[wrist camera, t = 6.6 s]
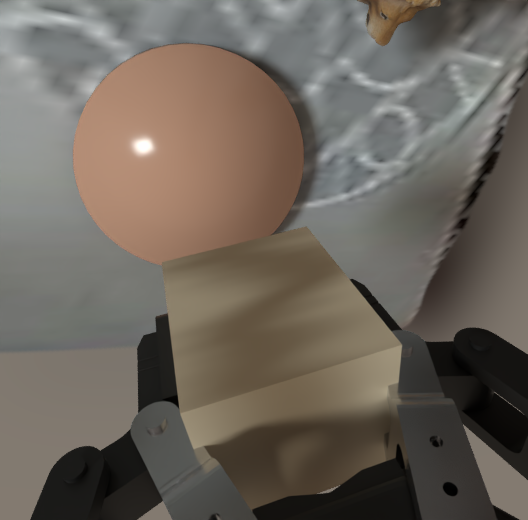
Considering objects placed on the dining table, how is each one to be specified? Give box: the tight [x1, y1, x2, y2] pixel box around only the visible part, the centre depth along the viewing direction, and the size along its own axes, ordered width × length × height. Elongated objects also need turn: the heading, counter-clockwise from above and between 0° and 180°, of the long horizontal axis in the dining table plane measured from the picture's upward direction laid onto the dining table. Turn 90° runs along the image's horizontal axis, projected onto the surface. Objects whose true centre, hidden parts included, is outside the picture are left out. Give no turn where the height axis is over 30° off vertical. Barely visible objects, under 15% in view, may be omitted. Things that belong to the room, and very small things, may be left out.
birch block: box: [162, 227, 402, 511], centre depth 12 cm, size 5×5×6 cm
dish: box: [73, 43, 304, 265], centre depth 27 cm, size 15×15×2 cm
